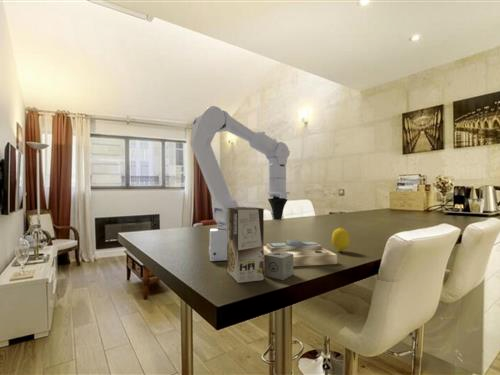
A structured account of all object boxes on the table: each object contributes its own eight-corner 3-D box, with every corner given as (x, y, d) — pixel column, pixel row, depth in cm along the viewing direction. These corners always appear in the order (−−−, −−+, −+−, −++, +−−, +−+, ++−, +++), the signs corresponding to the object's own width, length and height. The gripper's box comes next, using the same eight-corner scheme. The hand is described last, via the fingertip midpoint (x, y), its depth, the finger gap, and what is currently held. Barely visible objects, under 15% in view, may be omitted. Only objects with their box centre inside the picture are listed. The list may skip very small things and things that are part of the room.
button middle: (290, 247, 79) (290, 242, 79) (286, 244, 83) (286, 239, 83) (301, 246, 80) (301, 241, 80) (297, 244, 83) (297, 239, 83)
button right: (306, 249, 80) (306, 244, 80) (301, 247, 84) (301, 242, 84) (317, 249, 81) (317, 244, 81) (312, 246, 84) (312, 241, 84)
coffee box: (264, 280, 60) (264, 208, 60) (237, 283, 58) (237, 208, 58) (250, 269, 69) (250, 206, 69) (226, 271, 66) (226, 206, 67)
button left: (273, 250, 78) (273, 245, 78) (270, 248, 82) (270, 243, 82) (285, 250, 79) (285, 245, 79) (281, 247, 82) (281, 242, 82)
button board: (273, 267, 70) (273, 253, 70) (260, 254, 85) (260, 242, 85) (337, 263, 73) (336, 250, 74) (314, 251, 88) (314, 240, 88)
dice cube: (275, 270, 67) (275, 251, 68) (293, 274, 64) (293, 253, 65) (264, 276, 63) (264, 254, 63) (282, 280, 60) (282, 257, 60)
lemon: (351, 253, 85) (351, 228, 86) (334, 253, 86) (334, 228, 86) (346, 249, 91) (346, 226, 91) (329, 249, 91) (329, 226, 91)
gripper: (296, 177, 83) (296, 221, 83) (282, 179, 98) (282, 217, 97) (274, 177, 82) (274, 222, 82) (263, 179, 96) (263, 217, 96)
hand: (277, 219), depth 90 cm, fingers closed
